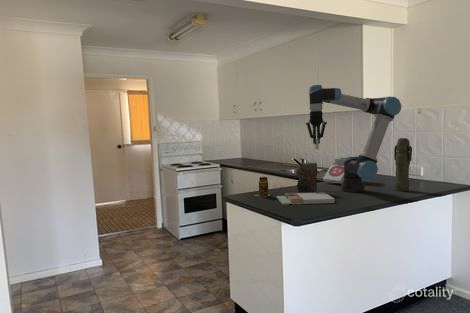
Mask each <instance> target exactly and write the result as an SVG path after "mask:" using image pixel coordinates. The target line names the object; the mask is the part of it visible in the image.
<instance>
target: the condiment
mask: <svg viewBox="0 0 470 313" xmlns="http://www.w3.org/2000/svg"><path fill="white" fill-rule="evenodd" d="M269 196H271V194H269V181H268V177H267V176H260V177H259V181H258V193H257V194H255V195H254V197H261V198H267V197H269Z"/></svg>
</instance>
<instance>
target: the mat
mask: <svg viewBox="0 0 470 313" xmlns="http://www.w3.org/2000/svg"><path fill="white" fill-rule="evenodd" d="M276 199H277V200H278V201H279V202H280V203H281V204H282V205H283V206H288V205H289V204H292V205H305V204H304V202H290V201H289V200H288V199H287V198H286V197H285V195H276Z"/></svg>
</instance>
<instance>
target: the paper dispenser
mask: <svg viewBox="0 0 470 313" xmlns="http://www.w3.org/2000/svg"><path fill="white" fill-rule="evenodd" d="M345 157H346V156H343V157H342V156H339V157H337V158H335V159H334V162H332V164H331V165H330V166H329V168H328V170H327V171H326V173H325V174H324V176H323V178H322V179H323V181H324V182H326V183H328V182H329V183H333V184H340V185H342V182H343V180H344V158H345Z"/></svg>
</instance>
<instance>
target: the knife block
mask: <svg viewBox="0 0 470 313" xmlns="http://www.w3.org/2000/svg"><path fill="white" fill-rule="evenodd" d="M297 176H298V178H299V179H298V180H297V184H296V187H297V191H298V193H317V190H318V187H317V186H318V182H317V181H318V180H317V176H318V165H317V162H309V161H308V162H299V168H298V170H297Z"/></svg>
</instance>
